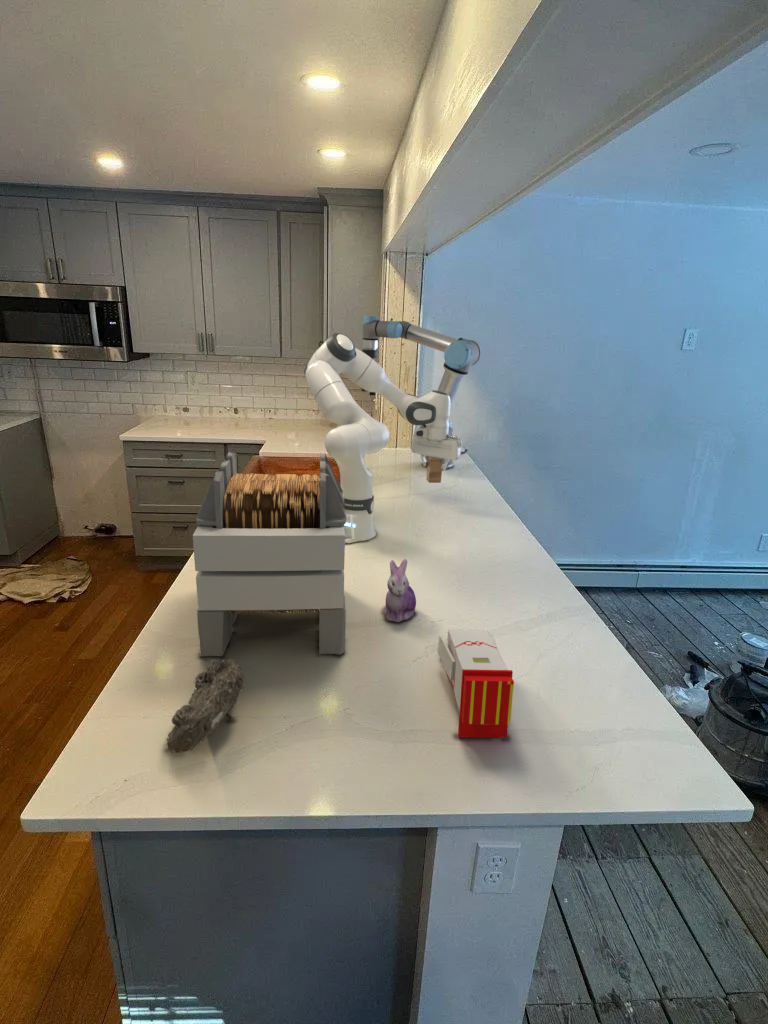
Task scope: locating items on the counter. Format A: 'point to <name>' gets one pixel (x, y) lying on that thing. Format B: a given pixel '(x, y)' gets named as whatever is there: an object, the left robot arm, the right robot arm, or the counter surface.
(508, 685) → the toy
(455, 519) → the counter surface
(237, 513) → the transformer
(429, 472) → the brown wooden block
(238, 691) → the fossil
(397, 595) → the figurine
